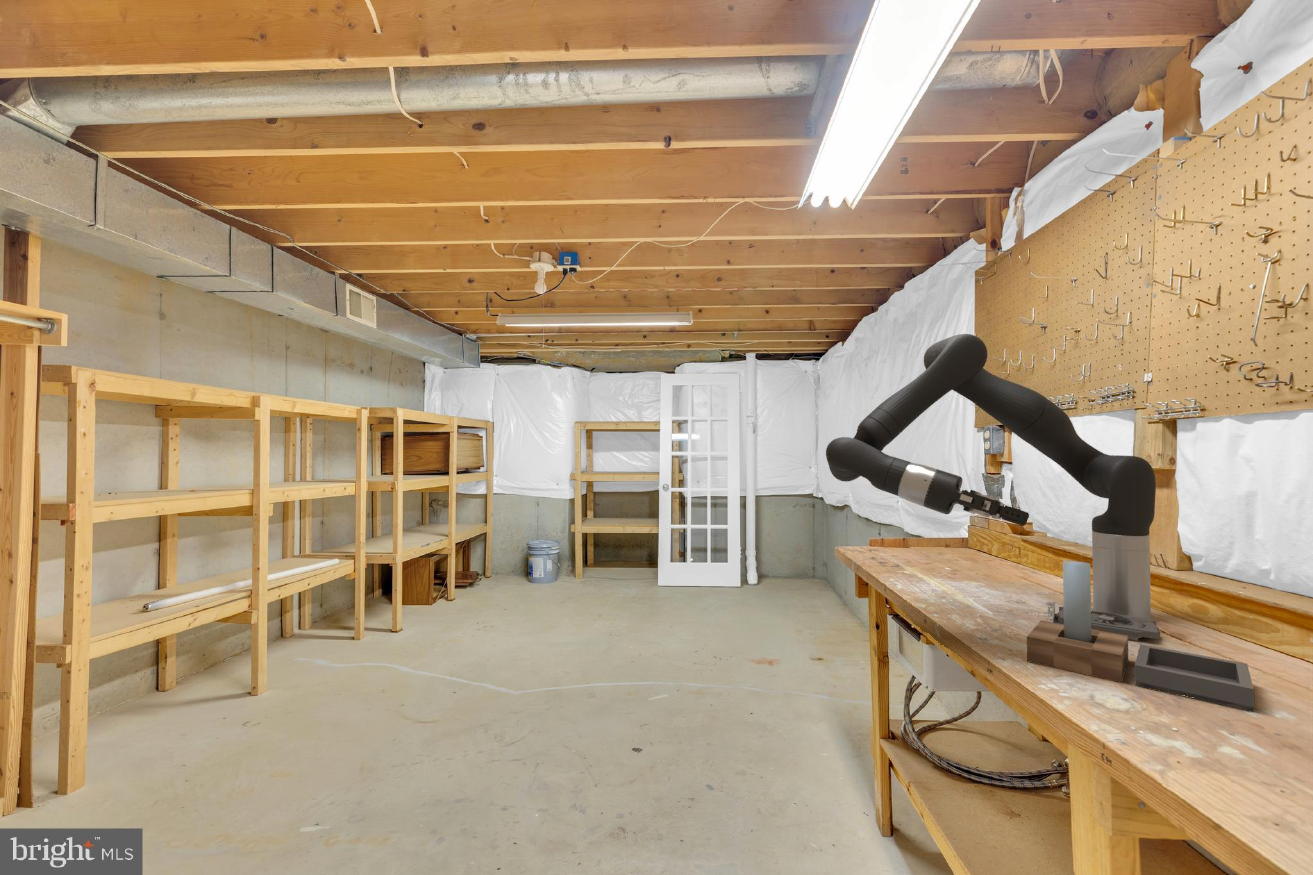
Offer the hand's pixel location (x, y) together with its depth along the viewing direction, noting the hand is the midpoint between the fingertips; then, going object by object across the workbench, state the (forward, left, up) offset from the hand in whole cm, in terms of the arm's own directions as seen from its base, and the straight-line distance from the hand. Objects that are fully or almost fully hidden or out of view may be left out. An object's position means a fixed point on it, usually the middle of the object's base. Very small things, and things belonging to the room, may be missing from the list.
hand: (1027, 520), depth 97 cm
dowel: (0, +7, -22) cm, 23 cm away
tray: (0, +20, -22) cm, 30 cm away
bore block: (0, +7, -22) cm, 23 cm away
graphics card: (-21, +8, -23) cm, 32 cm away
